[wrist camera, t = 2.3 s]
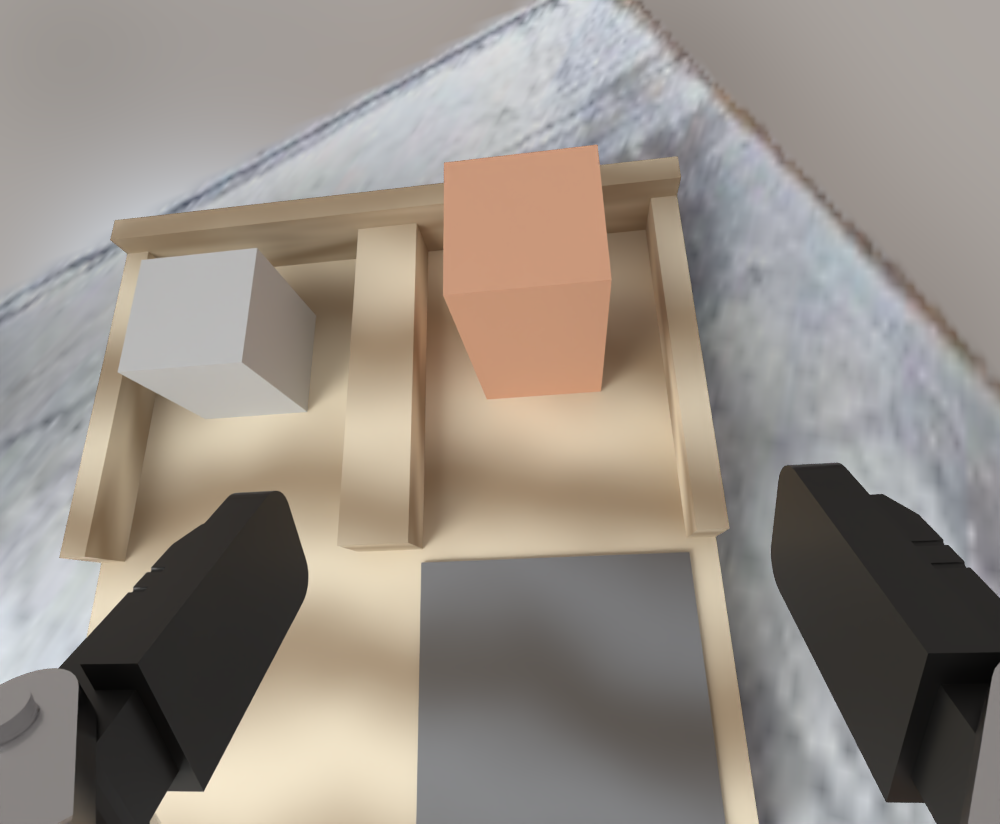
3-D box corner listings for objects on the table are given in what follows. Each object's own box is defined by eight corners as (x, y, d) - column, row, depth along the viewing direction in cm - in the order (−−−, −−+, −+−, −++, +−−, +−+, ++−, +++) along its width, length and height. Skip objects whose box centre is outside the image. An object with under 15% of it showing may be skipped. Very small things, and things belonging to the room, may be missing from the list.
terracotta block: (600, 391, 23) (611, 279, 15) (486, 399, 23) (443, 295, 16) (591, 291, 24) (597, 144, 17) (485, 300, 25) (444, 162, 17)
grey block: (307, 412, 24) (241, 362, 19) (205, 419, 25) (117, 372, 20) (316, 315, 26) (257, 248, 21) (220, 324, 26) (141, 260, 21)
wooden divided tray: (748, 857, 19) (804, 936, 14) (87, 846, 21) (-50, 909, 17) (660, 236, 27) (677, 156, 22) (188, 283, 30) (115, 220, 25)
